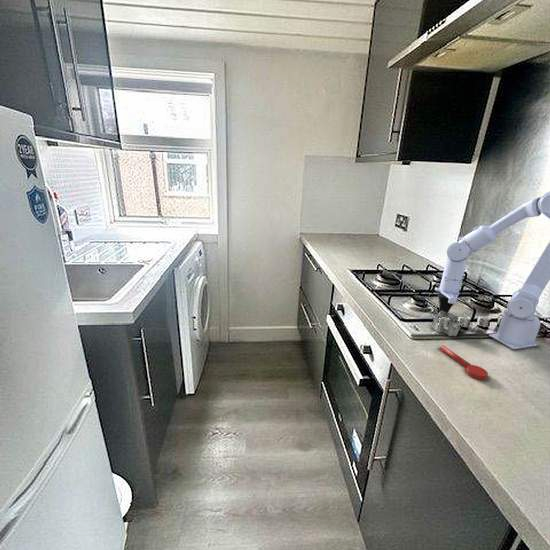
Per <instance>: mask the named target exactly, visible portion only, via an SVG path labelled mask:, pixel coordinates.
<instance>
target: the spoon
mask: <svg viewBox="0 0 550 550" xmlns="http://www.w3.org/2000/svg"><path fill="white" fill-rule="evenodd" d="M439 350H441V351H442V352H443V353H444V354H446V355H447V356H449V357H450V358H452V360H454V361H456V362H457V363H459V364H460V365H461V366H463V367H464V368H465V372H466V374H467V375H468V376H469V377H471V378H473V379H475V380H478V381H479V380H480V381H486V380H487V378H488V376H489V373H488V371H487V370H486V369H484V368H483V367H481V366H478V365H475V364H471V363H470V362H468V361H467V360H465V359H464V358H462V357H461V356H460V355H458V354H456V352H453V351H452V350H451V349H450V348H448V347H446V346H445V345H443V344H441V345H439Z"/></svg>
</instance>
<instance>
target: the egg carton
mask: <svg viewBox="0 0 550 550" xmlns="http://www.w3.org/2000/svg"><path fill="white" fill-rule="evenodd" d="M435 315H436V316H435V317H433V319H432V320H433V326H432V329H433V330H435V332H437V333H444V334H447V336H449V337H452V336H453V337H457V335H458V334H459V331H460V329H461V327H462V325H463V324H461V323H459V321H457V320H458V319H459V318H460V317H458V315H455V314H452V313H450V312H448V313H446V312H444V311H442V310H441V311H440V312H439V311H438V313H436V314H435ZM442 317H446V318H449V319H450V320H449V324H450V325H448V326H444V325H438V323H439V320H440V319H439V318H442ZM455 321H457V322H455ZM460 326H461V327H460ZM443 329H444V330H443Z"/></svg>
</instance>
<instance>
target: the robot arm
mask: <svg viewBox="0 0 550 550" xmlns="http://www.w3.org/2000/svg"><path fill="white" fill-rule="evenodd" d="M542 214H543V215H544V216H545V217H546V218H548V219H549V220H550V191H548V192H545V193H544V194H543V195H541V196H539V197H536V198H534V199H531V200H530V201H528V202H525V203H523V204H521V205H520V206H518V207H517V208H515V209H514V210H512V211H511V212H509V213H508V214H506V215H504V216H503V217H501V218H500V219H498V220H497V221H495V222H494V223H492V224H490V225H485V224H482V225H480V226H478V225H477V226H475V227H473V228H472V231H471V232H469V233H468V234H466V235H464V236H460V237H458V241H454V242H452V243H451V244H449V246H448V247H447V249H446V256H447V257H446V262H445V264H444V269H443V272H442V277H441V280H440V284H439V287H435V289H434V290H435V291H436V292H438V293H437V299H438V313H439V312H440V311H441V310H442V311H444V312H446V313H450V310H451V309H452V307H453V306H454V305H457V303H458V297H459V296H460V289H461V286H462V282H463V278H464V274H465V270H466V267H467V261H468V257H470V256H471V254H473V253H477V252H478V251H480V250H482V249H483V248H485V247H486V246H489V245H490V244H491V243H494V242H495V241H496V239H497V235H498V234H500V233H502V232H504V231H505V230H507V229H509V228H510V227H512V226H514V225H516V224H517V223H519V222H521V221H523V220H524V219H526V218H527V219H528V218H533V217H540V216H541V215H542ZM549 282H550V240H549V241H548V243H547V245H546V246H545V248H544V250H543V251H542V253H541V255H540V256H539V258H538V260H537V262H536V263H535V265H534V267H532V270H531V271H530V273H529V275H528V276H527V278H526V279H525V281H524V283H523V284H522V286H521V288H519V289H518V290H516V291H515V292H513V293H512V295H511V298H510V299H509V300H508V302H507V304H506V308H505V309H504V311H503V314H502V317H501V320H500V323H499V326H498V329H497V332H496V333H489V334H488V337H491V338H492V339H494V340H496V341H498V342H499V343H501V344H503V345H504V346H506V347H508V348H510V349H511V350H519V349H525V348H533V347H537V346H538V344H537V343H535V342H536V339H537V336H538V333H539V330H540V328H541V321H540V318H539V317H538V316H537V315H535V314H536V312H537V306H538V305H539V302H540V301H539V299H540V297H541V296H542V293H543V291H544V290H545V288H546V287H547V286H548V284H549Z"/></svg>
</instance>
